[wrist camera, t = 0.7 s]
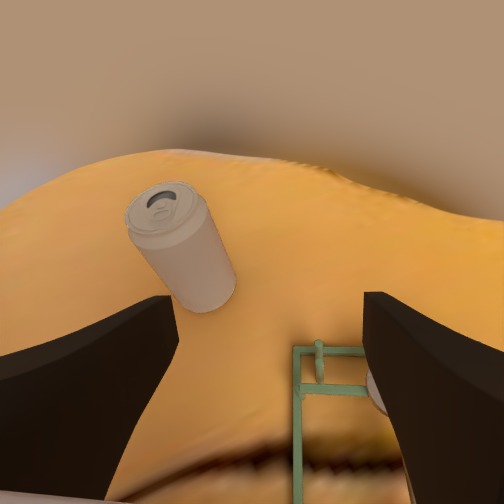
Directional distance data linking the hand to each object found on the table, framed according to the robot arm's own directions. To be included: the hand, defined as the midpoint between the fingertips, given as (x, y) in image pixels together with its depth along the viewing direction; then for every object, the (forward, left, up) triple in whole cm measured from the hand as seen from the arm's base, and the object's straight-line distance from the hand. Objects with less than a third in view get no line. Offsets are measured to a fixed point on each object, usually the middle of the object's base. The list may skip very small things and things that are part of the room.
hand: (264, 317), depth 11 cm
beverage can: (+11, +9, -15) cm, 21 cm away
